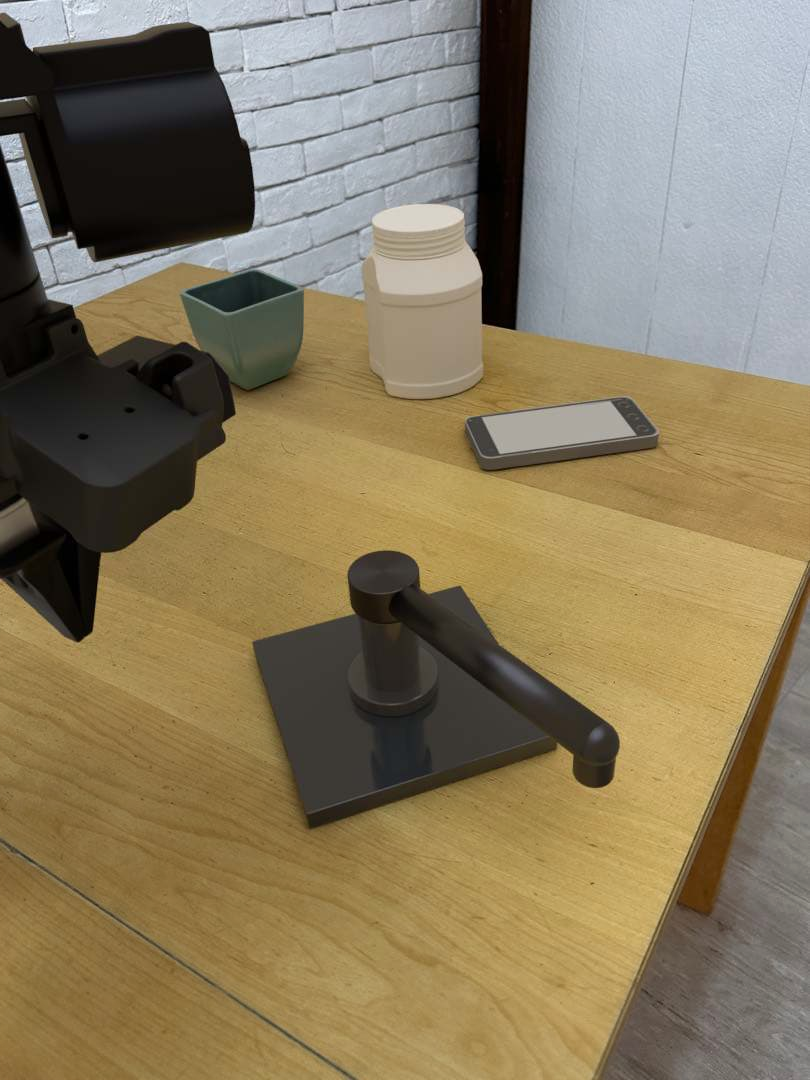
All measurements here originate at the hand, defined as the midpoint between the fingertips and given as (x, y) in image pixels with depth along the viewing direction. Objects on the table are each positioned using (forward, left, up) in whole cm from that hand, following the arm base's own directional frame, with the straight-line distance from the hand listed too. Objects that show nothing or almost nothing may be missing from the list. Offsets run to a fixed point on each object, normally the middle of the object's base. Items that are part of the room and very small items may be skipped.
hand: (78, 635), depth 39 cm
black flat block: (+14, -7, -13) cm, 20 cm away
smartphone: (+46, -2, -13) cm, 48 cm away
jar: (+52, +15, -13) cm, 56 cm away
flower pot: (+44, +30, -13) cm, 55 cm away
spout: (+12, -13, -6) cm, 19 cm away
